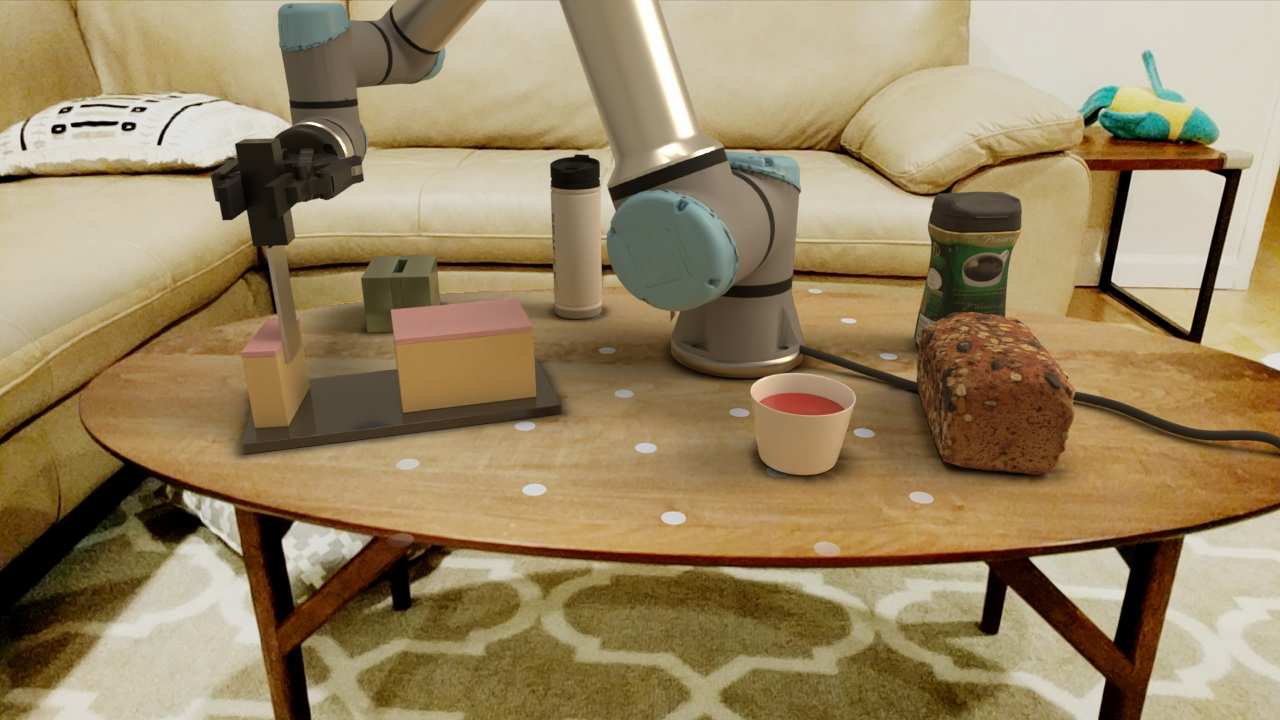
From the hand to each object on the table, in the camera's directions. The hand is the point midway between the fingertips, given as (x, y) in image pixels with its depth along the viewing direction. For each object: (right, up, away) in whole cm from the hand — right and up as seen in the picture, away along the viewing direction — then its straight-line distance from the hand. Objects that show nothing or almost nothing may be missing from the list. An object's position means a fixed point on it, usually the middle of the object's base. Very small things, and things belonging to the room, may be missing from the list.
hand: (248, 203), depth 71 cm
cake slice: (-2, -17, +13) cm, 22 cm away
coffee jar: (+70, -12, +31) cm, 77 cm away
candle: (+47, -22, +6) cm, 52 cm away
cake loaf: (+14, -16, +17) cm, 28 cm away
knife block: (+2, -8, +40) cm, 41 cm away
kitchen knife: (-1, -12, +11) cm, 17 cm away
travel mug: (+24, -7, +43) cm, 50 cm away
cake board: (+9, -17, +16) cm, 25 cm away
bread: (+65, -20, +12) cm, 69 cm away
